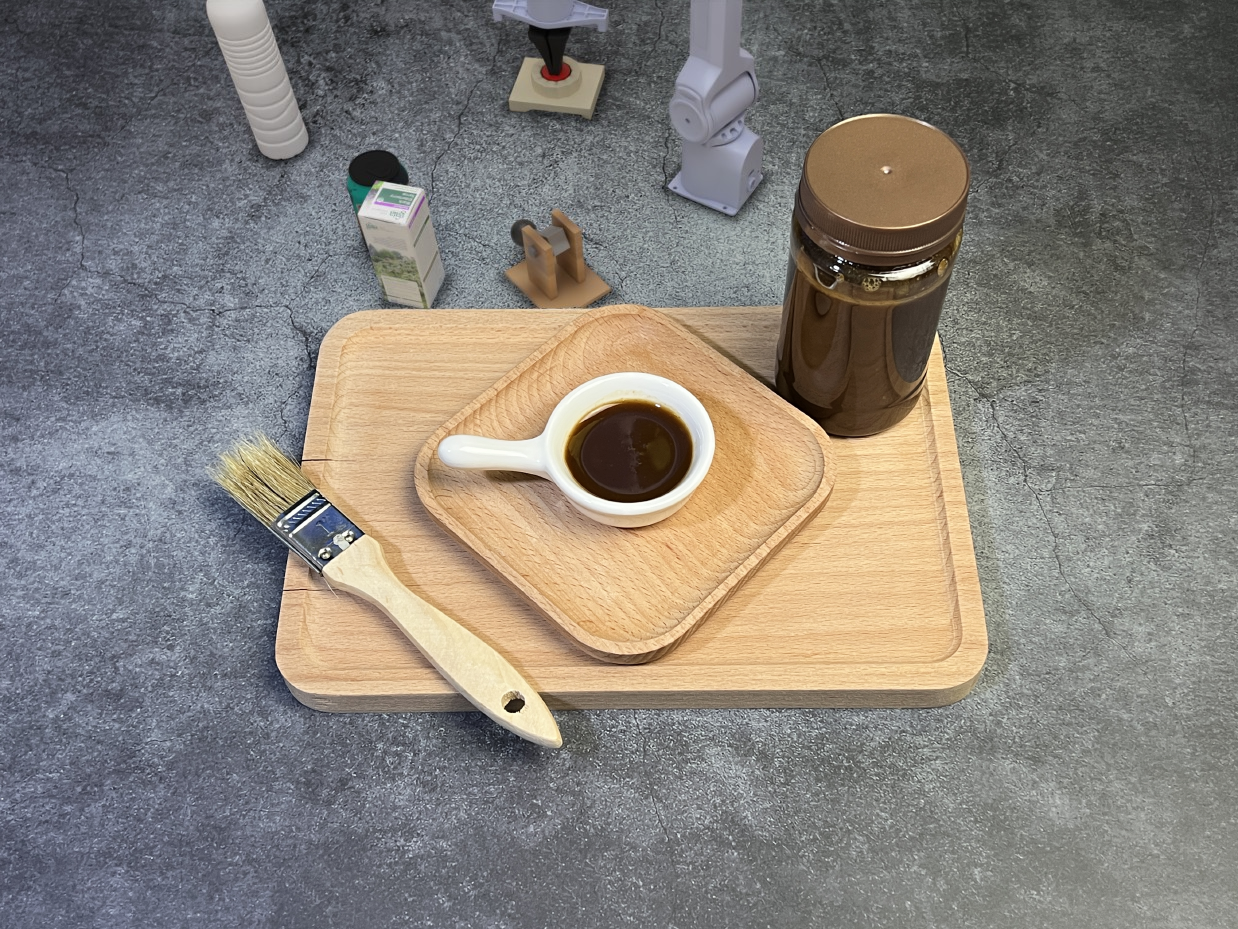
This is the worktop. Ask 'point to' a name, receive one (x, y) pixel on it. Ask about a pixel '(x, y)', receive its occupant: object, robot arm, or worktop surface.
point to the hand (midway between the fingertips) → (555, 70)
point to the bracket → (556, 270)
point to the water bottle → (259, 75)
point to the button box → (557, 88)
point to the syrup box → (402, 243)
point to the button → (563, 75)
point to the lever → (550, 234)
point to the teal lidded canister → (373, 176)
